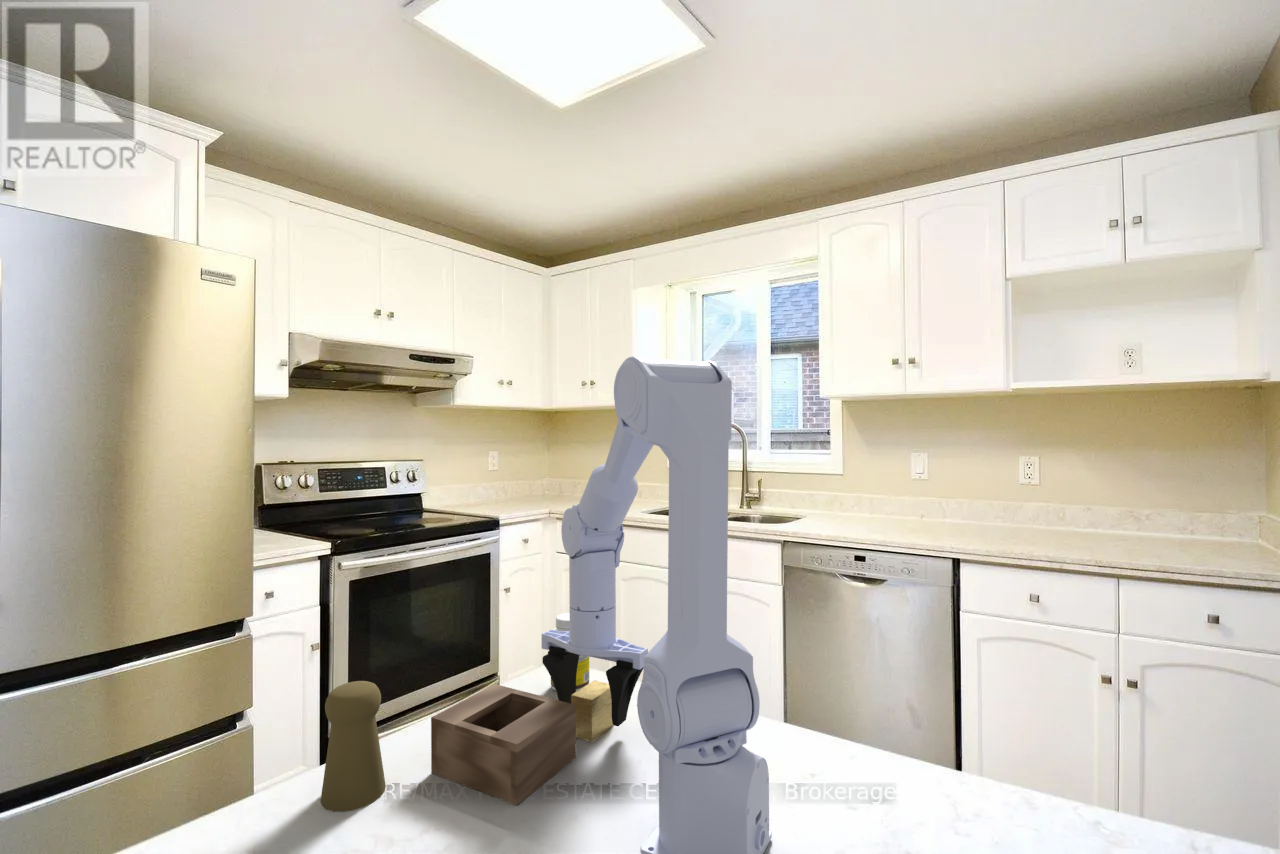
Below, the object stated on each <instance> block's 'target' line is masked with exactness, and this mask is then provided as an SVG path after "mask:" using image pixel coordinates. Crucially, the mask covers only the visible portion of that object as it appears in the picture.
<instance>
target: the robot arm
mask: <svg viewBox="0 0 1280 854" xmlns="http://www.w3.org/2000/svg"><path fill="white" fill-rule="evenodd" d="M613 383H614V384H613V400H614V410H615V413H616V416H617V423H616V427H615V431H614V433H613V438H612V441H611V444H610V447H609V451H608V455H607V457H606V460H605V463H603V464H600V465H598V466H596V467H595V468H594V469H593V470H592V471H591V473H590V476H589V478H588V481H587V484H586V486H585V488H584V490H583V494H582V496H581V498H580V501H579V503H578V504H573V505H572V507H571V508H570V507H568V508H566V509H565V510H564V513H563V517H562V521H561V531H560V532H561V542H562V546H563V549H564V551H565V553H566V554H567V556H568V557H569V559H568V561H569V566H568V567H569V568H568V569H569V570H568V571H569V572H568V573H569V574H568V575H569V581H568V583H569V584H568V585H569V586H568V588H569V595H568V596H569V597H568V598H569V602H568V603H569V613H570V631H556V630H553V629H549V630H547V631H545V632H543V633H541V649H542V650H547V654H545V655H544V656H543V655H542V664H543V666H544V668H545V669H546V671H547V672H548V675H549V676H550V679H551V678H552V681H553V683H554V686H555V689H556V691H555V693H556V695H557V700H559V701H563V702H566V703H570V704H571V695H572V694H574V693H575V692H576V674H577V666H578V660H579V656H580V655H583V656H589V658H595V659H598V660H599V659H601V660H605V661H609V662H614V663H615V665H613V666H612V667H610V668H608V669H607V670H606V671H605V675H606V679H607V683H608V684H609V687H610V692H611V702H612V723H613V726H615V727H619V726H620V725H622V724H623V723H624V722H626V720H627V716H628V713H629V712H628V711H629V706H630V704H631V703H630V702H631V698H632V695H633V692H634V690H635V687H636V685H637V682H638V680H639V678H640V676H641V673H642V672H643V673H642V679H641V683H640V686H639V689H638V692H637V699H636V700H637V701H636V704H637V705H636V706H637V715H638V720H639V725H640V727H641V731H642V733H643V735H644V736H645V739H646V740H647V742H648V743H649V745H651V746H652V747H653V748H654V750H656V751H657V752H658V825H657V826H656V827H655V828H654V830H653V831H652V832H651V833H650V835H648V837H647V838H646V839H645V841H643V843H642V844H641V846H640V853H641V854H764V853H765V851H766V848H768V845H769V843H770V842H771V840H772V836H773V833H772V831H771V829H770V780H769V779H770V778H769V777H770V775H769V774H770V773H769V766H768V761H767V760H766V759H765V758H764V757H763V756H760V755H759V754H756V753H754V752H752V751H750V750H748V749H747V748H746V747H745V746H744V745H747V741H748V740H747V739H748V738H747V731H749V730H751V729H753V728H754V726H756V724H757V722H758V718H759V715H760V705H761V704H760V703H761V702H760V693H759V689H758V686H757V682H756V679H755V674H754V656H753V655H752V654H751V652H750V651H749V650H748V648H746V647H745V646H744V644H742V643H741V642H740V641H738V640H737V639H735V638H734V637H732V636H730V635H729V634H728V632H727V629H728V551H729V550H728V547H729V545H728V542H729V541H728V538H729V537H728V535H729V532H728V531H729V529H728V528H729V523H728V522H729V451H730V450H729V442H730V441H731V440H732V405H733V404H732V399H733V398H732V390H733V389H732V385H733V382H732V379H731V378H730V377H729V376H728V374H726V372H725V371H724V370H723V369H722V367H721V366H720V365H719V364H718V363H716V362H714V361H712V360H703V361H693V360H692V361H691V360H690V361H688V360H686V361H685V360H671V359H655V358H654V359H653V358H641V357H638V356H629V357H627V358H626V359H624V361H622V364H621V365H620V366H619V368H618V370H617V372H616V375H615V378H614V382H613ZM654 446H656V447H659V448H660V450H661V451H662V453H663V454H664V455H665V456H666V457H667V459H668V533H667V534H668V536H667V537H668V539H667V540H668V541H667V542H668V544H667V545H668V546H667V547H668V548H667V551H668V555H667V556H668V557H667V561H668V563H667V571H668V572H667V630H666V632H665V634H663V636H662V637H661V638H660V639H659V640H658V641H657V643H655V645H654V646H653V647H652V648H651V649H650V650H649V649H648V647H643V646H639V645H636V644H635V643H632V642H629V641H626V640H624V639H621V638H619V637H617V630H616V629H617V620H616V619H617V617H616V615H617V609H616V608H617V607H616V605H617V603H616V598H617V593H616V592H617V591H616V590H617V589H616V582H617V581H616V576H617V575H616V568H618V567H619V566H620V563H621V551H622V548H623V545H624V541H625V531H624V525H623V523H624V521H625V519H626V516H627V515H628V513H629V511H630V508H631V507H632V505H633V502H634V500H635V499H636V498H637V497H636V496H637V495H638V491H639V483H638V480H637V479H636V477H635V476H636V475H637V474H638V472H639V470H640V468H641V467H642V465H643V463H644V462H645V460H646V459H647V457H648V455H649V453H651V450H652V449H653V447H654Z"/></svg>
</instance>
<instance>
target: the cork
mask: <svg viewBox="0 0 1280 854" xmlns="http://www.w3.org/2000/svg"><path fill="white" fill-rule="evenodd" d="M381 703H382V693H381V690H380V688H379V687H378V686H377V684H376V683H375V682H371V681H367V680H356V681H350V682H346V683H343V684H340V685H338V686H336V687H335V688H334V689H332V690H331V691H330V692H329V694H328V696H327V697H326V700H325V703H324V710H325V715H326V718H327V720H328V722H329V723H330V729H329V736H328V745H327V753H326V758H325V766H324V774H323V782H322V787H321V793H320V794H321V795H320V805H321V807H322V808H323V809H325V810H326V811H330V812H333V813H334V812H336V813H339V812H340V813H344V812H351V811H355V810H358V809H362V808H365V807H366V806H368V805H371V804H372V803H374V802H376V801H377V800H378V799H380V798H381V797H382V796H383V794H384V793H385V791H386V787H387V786H386V781H385V780H386V779H385V772H384V765H383V764H384V763H383V759H382V751H381V745H380V744H381V743H380V738H379V731H378V725H377V713H378V712H379V711H380V707H381Z"/></svg>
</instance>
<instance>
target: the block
mask: <svg viewBox="0 0 1280 854" xmlns="http://www.w3.org/2000/svg"><path fill="white" fill-rule="evenodd" d="M571 704H574V705H576V739H581V740H584V741H587V742H590V743H592V742H594V741H595V740H596V739H598V738H599V737H600V736H602V734H604V733H605V732H607V731H608V730H609V729H610V728H612V727H613V726H614V725H613V723H612V702H611V692H610V687H609V682H603V681H598V680H593V681H590V682H589V684H588V685H586V686H585V687H583V688H581V689H580V690H578V691H577V692H575V693H574V694H572V695H571Z"/></svg>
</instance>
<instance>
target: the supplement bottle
mask: <svg viewBox="0 0 1280 854" xmlns="http://www.w3.org/2000/svg"><path fill="white" fill-rule="evenodd" d="M552 630H556V631H570V612H564V613H559V614H558V615H556V617H555V627H554V628H553V629H552ZM589 683H590V657H589V656H583V655H580V656H579V660H578V666H577V674H576V692H577V691H578V690H580V689H581V688H583V687H585V686H586V685H588V684H589ZM550 686H551V688H552V690H554V691H555V692H556V689H555V686H554V683H553V681H552V678H551V677H550Z"/></svg>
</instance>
